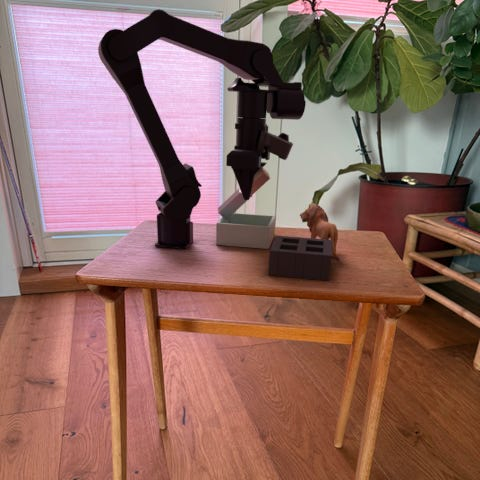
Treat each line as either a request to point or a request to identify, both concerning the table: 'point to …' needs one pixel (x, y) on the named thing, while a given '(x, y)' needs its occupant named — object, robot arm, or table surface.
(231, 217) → the tub
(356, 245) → the table surface
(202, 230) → the table surface
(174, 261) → the table surface
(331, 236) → the lion figurine
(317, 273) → the caddy
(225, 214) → the pink rectangular bar
